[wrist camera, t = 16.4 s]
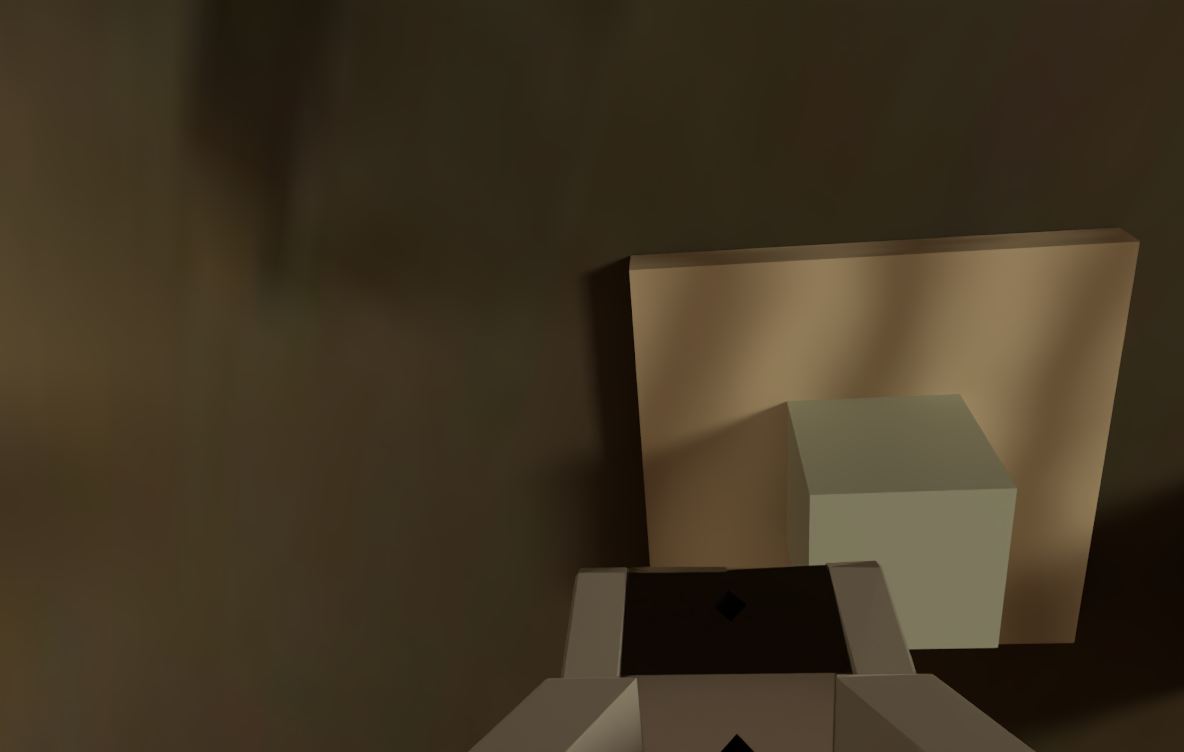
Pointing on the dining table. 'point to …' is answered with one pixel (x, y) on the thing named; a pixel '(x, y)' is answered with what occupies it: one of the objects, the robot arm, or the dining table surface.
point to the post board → (883, 384)
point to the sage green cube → (905, 508)
